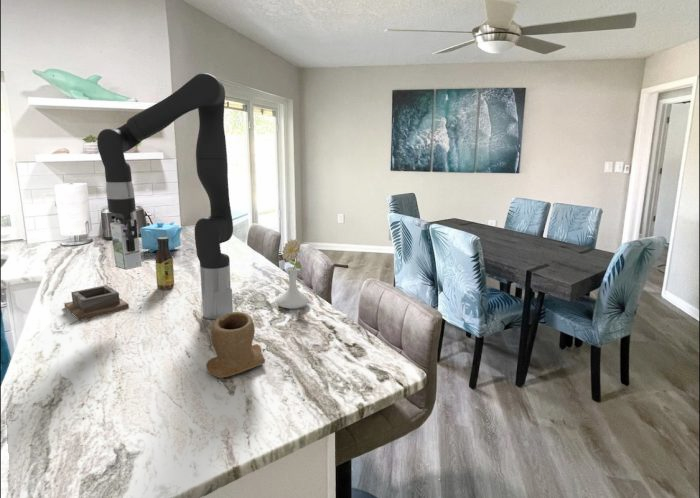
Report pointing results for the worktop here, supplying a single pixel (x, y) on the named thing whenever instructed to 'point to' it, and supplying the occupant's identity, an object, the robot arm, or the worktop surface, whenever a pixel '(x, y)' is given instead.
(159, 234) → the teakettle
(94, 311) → the socket holder
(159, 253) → the sauce bottle
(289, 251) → the flower in vase
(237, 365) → the stone cup
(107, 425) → the worktop surface
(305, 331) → the worktop surface
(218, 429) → the worktop surface
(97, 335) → the worktop surface
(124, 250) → the syrup box
